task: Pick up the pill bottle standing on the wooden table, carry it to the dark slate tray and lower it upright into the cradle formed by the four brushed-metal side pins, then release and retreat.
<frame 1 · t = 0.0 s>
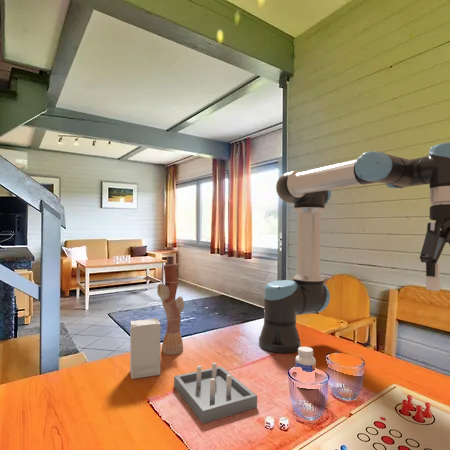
hand: (447, 288, 78), 28 cm above the table, fingers open, 13 cm apart
wooden tree sculpture: (169, 351, 105), on the table
skincare box: (144, 374, 88), on the table
pill bottle: (305, 386, 83), on the table
tray: (213, 396, 77), on the table
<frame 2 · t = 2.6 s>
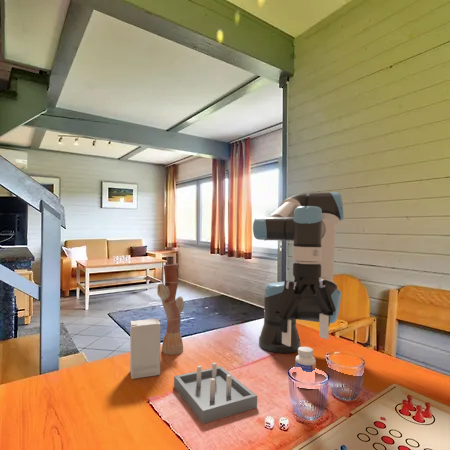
hand: (305, 341, 84), 12 cm above the table, fingers open, 13 cm apart
nothing on the table moved.
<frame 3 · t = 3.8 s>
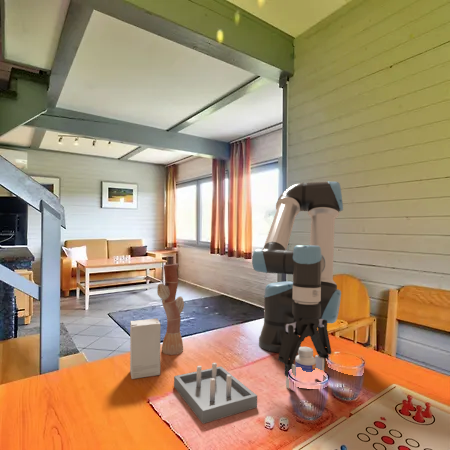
hand: (305, 384, 83), 0 cm above the table, fingers open, 10 cm apart
nothing on the table moved.
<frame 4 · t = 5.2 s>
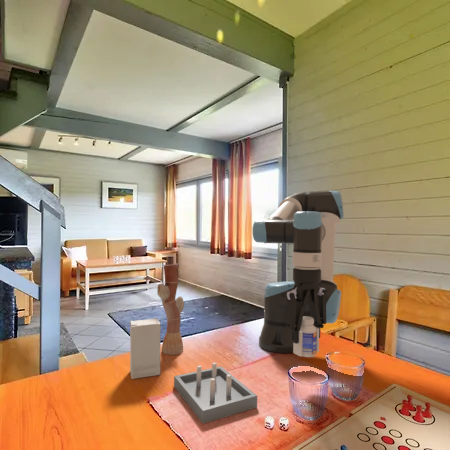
hand: (306, 352, 84), 9 cm above the table, fingers closed on pill bottle, 5 cm apart
pill bottle: (306, 354, 84), point 8 cm above the table, touching gripper
everything else where it was.
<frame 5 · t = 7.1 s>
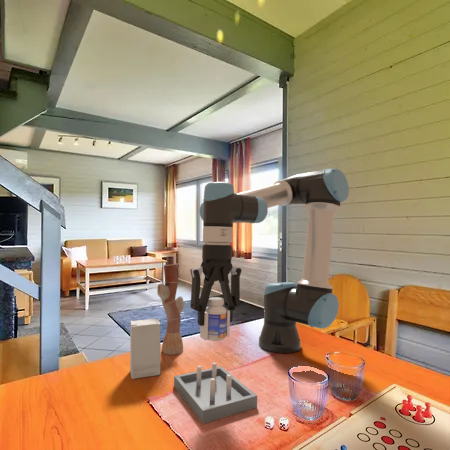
hand: (214, 336, 77), 15 cm above the table, fingers closed on pill bottle, 5 cm apart
pill bottle: (215, 338, 77), point 14 cm above the table, touching gripper
everything else where it was.
when the fingers open (2 cm above the table, at t = 9.0 s): pill bottle stays where it is, resting on tray.
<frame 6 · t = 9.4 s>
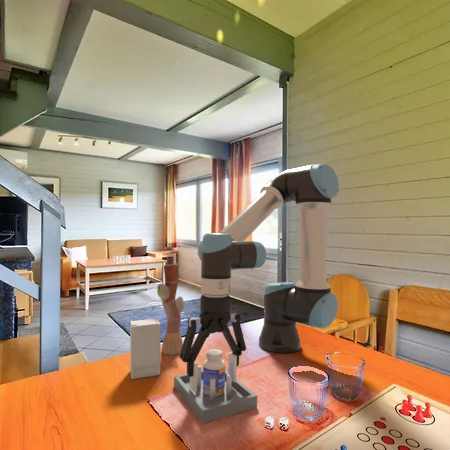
hand: (213, 384, 77), 3 cm above the table, fingers open, 10 cm apart
pill bottle: (213, 392, 77), point 1 cm above the table, touching tray
everything else where it was.
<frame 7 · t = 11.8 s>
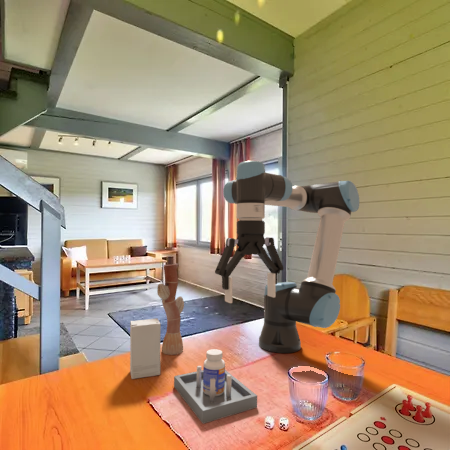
hand: (250, 299, 82), 23 cm above the table, fingers open, 13 cm apart
nothing on the table moved.
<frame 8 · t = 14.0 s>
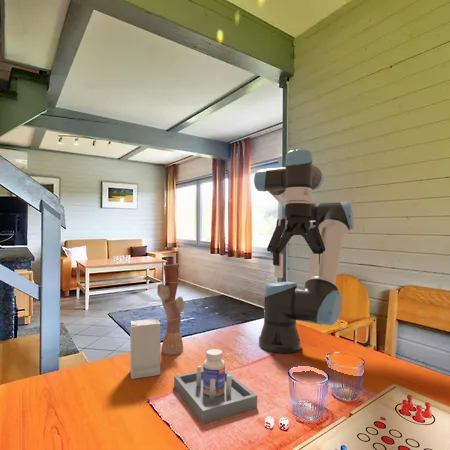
hand: (297, 276, 89), 29 cm above the table, fingers open, 13 cm apart
nothing on the table moved.
at the end: pill bottle 0.1 cm off-centre on the tray, point 1.0 cm above the tray's base; pill bottle tilted 0°; the gripper is holding nothing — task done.
